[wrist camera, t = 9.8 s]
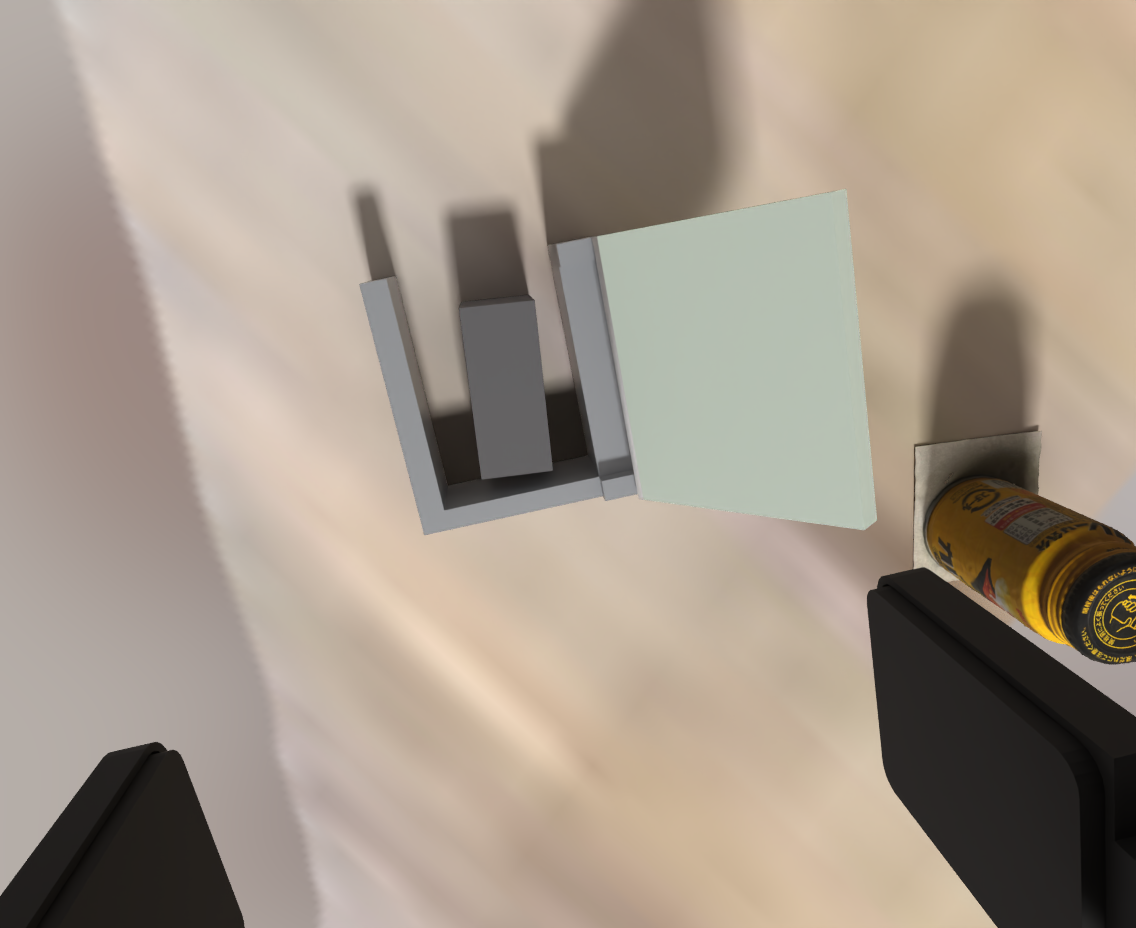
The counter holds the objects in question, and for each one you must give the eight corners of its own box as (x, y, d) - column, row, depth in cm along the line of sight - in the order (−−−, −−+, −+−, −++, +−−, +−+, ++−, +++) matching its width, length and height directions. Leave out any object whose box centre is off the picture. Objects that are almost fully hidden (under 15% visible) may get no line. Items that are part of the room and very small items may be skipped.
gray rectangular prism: (461, 301, 40) (458, 308, 36) (528, 294, 40) (534, 300, 36) (481, 455, 42) (481, 479, 38) (545, 447, 43) (553, 470, 38)
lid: (831, 192, 26) (846, 188, 27) (587, 238, 35) (602, 235, 35) (864, 530, 30) (877, 520, 30) (633, 498, 38) (647, 491, 38)
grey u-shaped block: (371, 280, 39) (356, 284, 35) (586, 237, 40) (601, 235, 35) (429, 508, 43) (423, 540, 38) (627, 465, 43) (646, 492, 38)
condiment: (912, 585, 47) (1053, 695, 35) (913, 446, 45) (1064, 514, 33) (1030, 568, 48) (1207, 670, 36) (1037, 429, 45) (1228, 490, 34)
